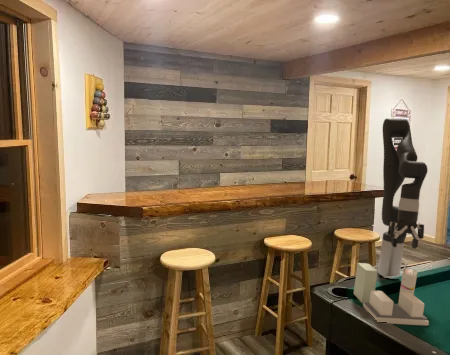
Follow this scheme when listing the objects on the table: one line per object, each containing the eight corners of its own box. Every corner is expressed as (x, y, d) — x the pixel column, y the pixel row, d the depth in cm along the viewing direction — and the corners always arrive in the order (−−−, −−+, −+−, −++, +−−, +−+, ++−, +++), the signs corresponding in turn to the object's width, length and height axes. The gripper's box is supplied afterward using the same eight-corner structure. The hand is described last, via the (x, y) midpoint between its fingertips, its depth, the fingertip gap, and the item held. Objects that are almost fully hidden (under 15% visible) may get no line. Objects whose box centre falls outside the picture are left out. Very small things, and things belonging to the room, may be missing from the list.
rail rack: (362, 306, 138) (365, 288, 138) (409, 309, 139) (412, 291, 139) (377, 322, 127) (380, 303, 126) (428, 325, 127) (431, 306, 127)
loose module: (353, 293, 149) (357, 262, 148) (364, 294, 150) (368, 263, 148) (361, 302, 141) (365, 270, 140) (373, 303, 142) (377, 271, 140)
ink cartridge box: (412, 305, 143) (417, 269, 141) (398, 301, 145) (403, 265, 143) (413, 298, 150) (419, 263, 148) (400, 294, 152) (405, 260, 151)
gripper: (419, 208, 158) (415, 246, 159) (387, 206, 157) (383, 244, 158) (430, 211, 150) (425, 250, 151) (396, 209, 149) (392, 248, 151)
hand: (404, 247), depth 155 cm, fingers open, 8 cm apart
